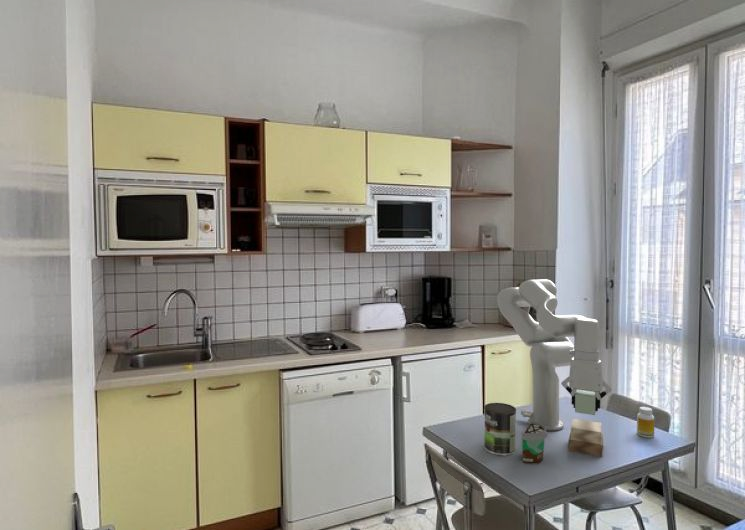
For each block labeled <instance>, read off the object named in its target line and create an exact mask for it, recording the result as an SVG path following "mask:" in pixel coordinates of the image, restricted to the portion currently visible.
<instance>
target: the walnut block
mask: <svg viewBox="0 0 745 530" xmlns="http://www.w3.org/2000/svg"><path fill="white" fill-rule="evenodd" d="M567 450H568V452H574V453H578V454H579V453H580V454H584V455H588V456H589V455H590V456H595V457H600V458H601V457H603V450H604V434H602V433H601V444H595V443H589V442H583V441H577V440H571V432H570V434H569V436H568V449H567Z"/></svg>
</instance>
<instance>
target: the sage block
mask: <svg viewBox="0 0 745 530" xmlns="http://www.w3.org/2000/svg"><path fill="white" fill-rule="evenodd" d="M595 400H596V395H595V392H593V391H585V390H578V389H577V391H576V394H575V408H574V411H575V413H576V414H577V413H578V414H583V415H584V414H585V415H591V416H596V413H597V411H595Z"/></svg>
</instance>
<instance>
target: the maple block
mask: <svg viewBox="0 0 745 530" xmlns="http://www.w3.org/2000/svg"><path fill="white" fill-rule="evenodd" d="M570 433H571V440H577V441H583V442H589V443H595V444H601V434H602V422H596V421H590V420H585V419H584V420H583V419H577V418H572V421H571V426H570Z"/></svg>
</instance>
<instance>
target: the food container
mask: <svg viewBox="0 0 745 530" xmlns="http://www.w3.org/2000/svg"><path fill="white" fill-rule="evenodd" d="M547 437H548V433H547V430H546V429H545V427H544V426H543V425H541V424H539V423H537V422H533V421H531V424H529V426H527V428H526V429H525V431H524V432H521V440H522V441H521V443H522V447H521V448H522V463H523V464H529V465H536V464H540V463H542V462H543V461H544V449H545V439H546V438H547Z"/></svg>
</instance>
